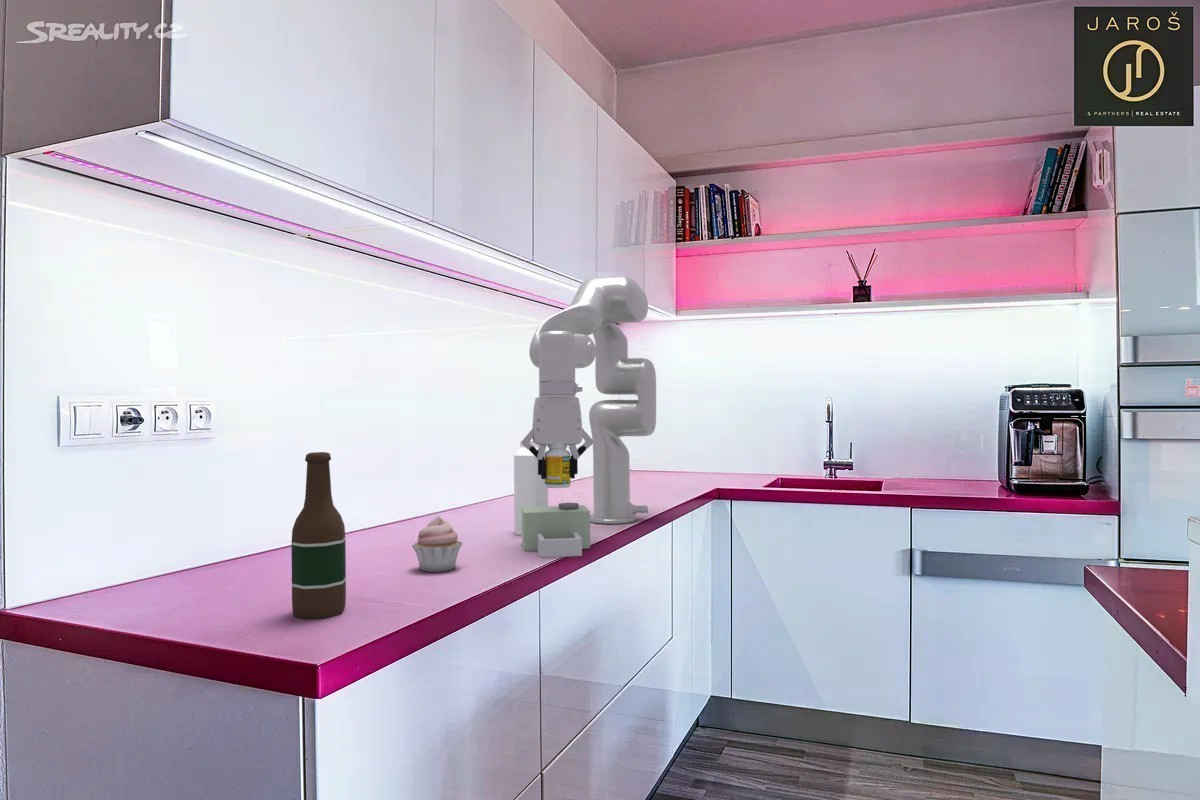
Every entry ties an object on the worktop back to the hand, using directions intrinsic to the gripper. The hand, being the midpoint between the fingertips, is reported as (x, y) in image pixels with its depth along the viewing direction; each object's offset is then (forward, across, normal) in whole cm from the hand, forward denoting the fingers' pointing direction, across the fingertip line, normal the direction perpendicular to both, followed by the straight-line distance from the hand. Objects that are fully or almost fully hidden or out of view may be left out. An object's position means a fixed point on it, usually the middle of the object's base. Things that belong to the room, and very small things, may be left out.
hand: (557, 477), depth 157 cm
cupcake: (+16, +24, +10) cm, 31 cm away
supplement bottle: (+2, 0, 0) cm, 2 cm away
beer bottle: (+17, +40, +37) cm, 57 cm away
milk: (+16, +4, -25) cm, 30 cm away
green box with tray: (+16, 0, -5) cm, 16 cm away
